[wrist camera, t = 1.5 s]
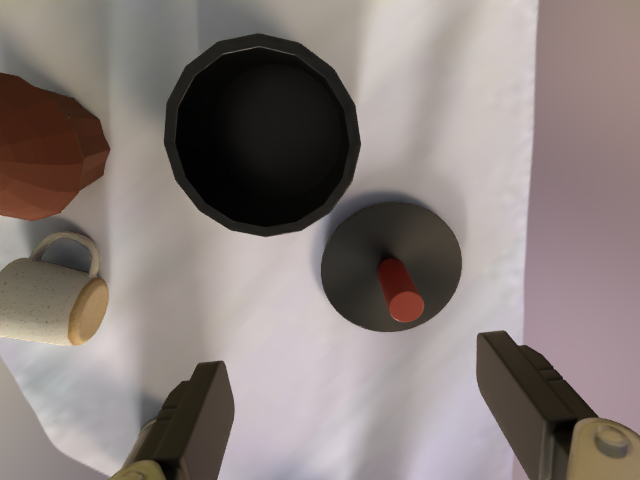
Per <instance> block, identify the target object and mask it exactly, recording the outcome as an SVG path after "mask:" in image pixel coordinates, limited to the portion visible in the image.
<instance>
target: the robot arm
mask: <svg viewBox="0 0 640 480" xmlns="http://www.w3.org/2000/svg"><path fill="white" fill-rule="evenodd" d="M476 376H477V382H478V387H479V390H480V392H481V395H482V397H483V398H484V400H485V402H486V404H487V405H488V407H489V409H490V411H491V412H492V414H493V416H494V418H495V419H496V421H497V423H498V425H499V427H500V428H501V430H502V432H503V434H504V435H505V437H506V439H507V441H508V442H509V444H510V446H511V448H512V449H513V451H514V453H515V455H516V456H517V458H518V460H519V462H520V463H521V465H522V467H523V469H524V470H525V472H526V474H527V476H528V478H529V479H530V480H640V436H639V435H638V434H637V433H636V432H634V431H633V430H631V429H630V428H628V427H626V426H624V425H622V424H620V423H617V422H614V421H612V420H608V419H603V418H599V417H598V416H597V414H596V413H595V412H594V411H593V410H592V409H591V408H590V407H589V406H588V405H587V403H586V402H585V401H584V400H583V399H582V398H581V397H580V396H579V395H578V394H577V393H576V392H575V390H574V389H573V388H572V387H571V386H570V385H569V384H568V383H567V382H566V381H565V380H563V377H562V376H561V375H560V374H559V373H558V372H557V371H556V370H554V368H553V366H552V365H551V364H550V363H549V362H548V361H547V360H546V358H544V356H543V355H542V354H540V353H538V352H536V351H535V350H533V349H531V348H530V347H528V346H526V345H522V346H518V345H517V344H516V343H515V342H514V341H513V339H512V338H511V337H510V336H509V335H508V333H507V332H506V331H493V332H484V333H479V334H478V335H477V363H476ZM234 410H235V408H234V399H233V394H232V390H231V386H230V382H229V378H228V374H227V370H226V366H225V363H224V362H223V361H214V362H204V363H199V364H198V365H197V366H196V368H195V370H194V372H193V374H192V376H191V379H190V381H182V382H181V383H180V384H179V385H178V386H177V387H176V388H175V389H174V390H173V391H172V392H171V393H170V394H169V395H168V397H167V399H166V401H165V403H164V405H163V407H162V410H160V412H159V414H158V416H157V417H156V418H154V419H152V420H150V421H149V422H148V423H147V424H146V425H145V426H144V427H143V429H142V431H141V432H140V434H139V436H138V439H137V441H136V443H135V445H134V447H133V448H132V450H131V452H130V454H129V455H128V457H127V459H126V461H125V463H124V464H123V466H122V468H121V470H119V471H118V472H117V473H115V474H114V475H113V476H112V477H111V478H110V479H109V480H217V478H218V474H219V471H220V467H221V464H222V460H223V456H224V453H225V449H226V446H227V442H228V438H229V435H230V431H231V428H232V424H233V420H234Z"/></svg>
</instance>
